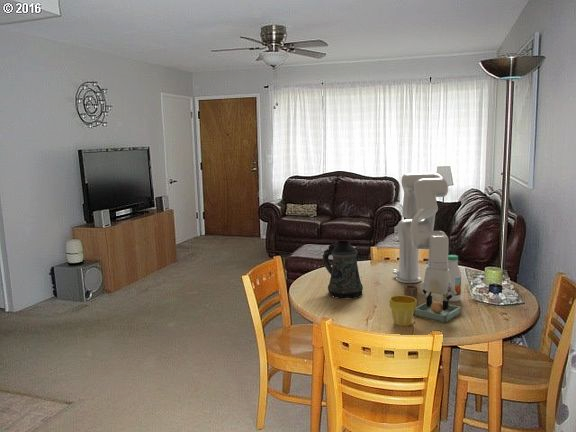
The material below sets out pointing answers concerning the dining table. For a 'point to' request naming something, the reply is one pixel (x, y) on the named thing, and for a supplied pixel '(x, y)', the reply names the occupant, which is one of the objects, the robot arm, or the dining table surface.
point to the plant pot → (402, 309)
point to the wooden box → (410, 291)
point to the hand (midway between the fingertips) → (437, 307)
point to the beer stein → (343, 270)
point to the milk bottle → (454, 277)
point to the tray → (440, 317)
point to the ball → (437, 307)
